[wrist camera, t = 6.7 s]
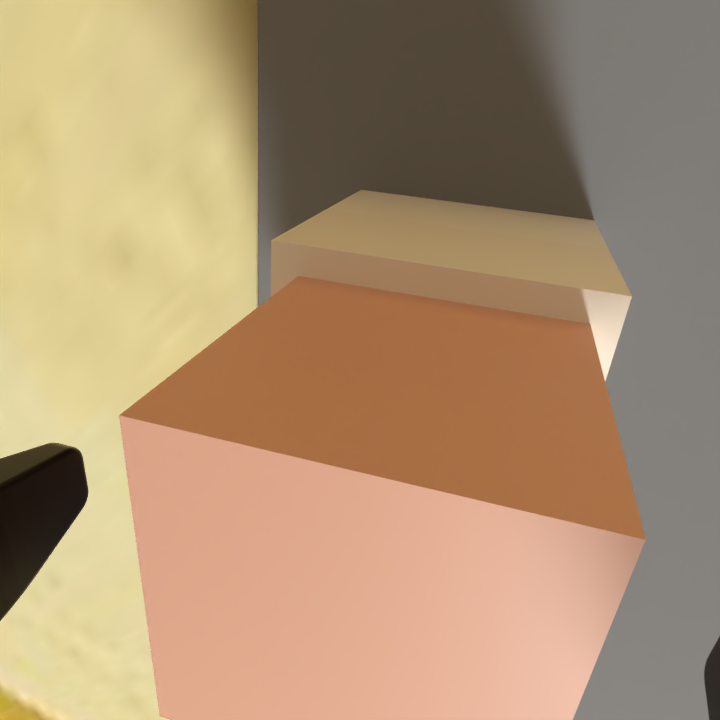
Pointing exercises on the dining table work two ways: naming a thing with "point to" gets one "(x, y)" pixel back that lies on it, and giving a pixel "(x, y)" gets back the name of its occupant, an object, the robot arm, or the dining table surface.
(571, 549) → the cube
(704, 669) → the robot arm
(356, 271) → the slab upper
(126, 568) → the dining table surface
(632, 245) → the placemat
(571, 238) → the slab lower
